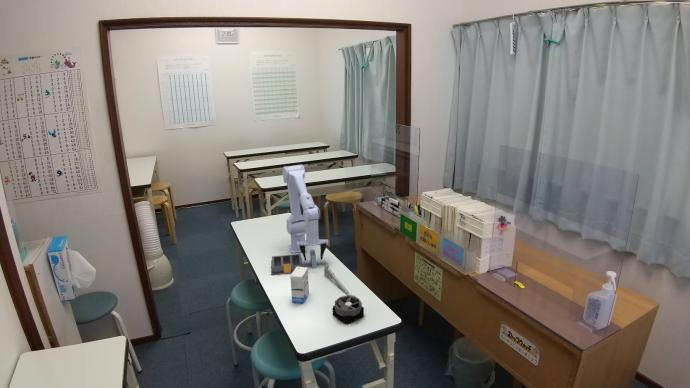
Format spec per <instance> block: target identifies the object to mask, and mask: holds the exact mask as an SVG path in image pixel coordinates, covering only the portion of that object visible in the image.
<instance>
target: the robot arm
mask: <svg viewBox="0 0 690 388" xmlns="http://www.w3.org/2000/svg"><path fill="white" fill-rule="evenodd" d="M281 172H282V178H283V183H285V184H287V193H288V199H289V207H290V216H289V217H288V218H287V219H286V225H285V226H286V231H287V233H288V234H289V235H290V245H289V247H290V248H289V249H290V253H291V254H296V253H297V254H299V253H301V254H302V256H303V259H304V262H307V256H306V255H307V254H306V252H308V251H307V247H316V246H320V247H319V248H320V252H319V253H320V255H319V257H320V260H323V257H324V253H325V251H326V249H327V246H328V245H329V239H322V238H319V237H320V236H319V219H320V218H321V211H320V208H319V207H318V206H317V204H315V202H314V199H313V197H312V194H311V193H309V192H308V189H307V185H306V182H305V177H306V169H305V165H303V164H297V165H291V166H290V165H288V166H285V165H284V166H283V168H282V171H281ZM301 208H302V211H303V212H301Z"/></svg>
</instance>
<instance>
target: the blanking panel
mask: <svg viewBox="0 0 690 388" xmlns="http://www.w3.org/2000/svg"><path fill="white" fill-rule="evenodd" d="M309 252H310V253H309V254H310V264H311V268H312V269H317V254H316V251H315V249H314V248H313V249H311V248H310V250H309Z"/></svg>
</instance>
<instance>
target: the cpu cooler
mask: <svg viewBox="0 0 690 388" xmlns="http://www.w3.org/2000/svg"><path fill="white" fill-rule="evenodd" d="M362 303H363V302H361V300H360V298H359V297H357V296H356V295H352V294H350V295H348V296H347V295H344V296H340V297H338V298H337V299H335V300H334V305H332V309H331V311H332V316H333V317H335V319H337V320H338V321H340V322H342V323H343V324H344V325H350V324H352V323H355V322H356V321H358V320H359V319H362V318H363V317H364V315H365V313H364V312H365V308H364V307H363V306H362Z"/></svg>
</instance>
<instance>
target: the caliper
mask: <svg viewBox="0 0 690 388" xmlns="http://www.w3.org/2000/svg"><path fill="white" fill-rule="evenodd" d="M329 266H330V265H328V263H326V264H325V265H324V267H323V272H324V273H323V275H324V276H325V277H326V278H330V279H331V280H333V281H334V282H335V284H336V285H337V286H338V287H339V289H341V291H342V292H343V294H345V296H348V295H351V294H350V293H349V292H350V291H349V290H348V289H347V288H346V287H345V285H343V283H342V282H341V281H340V280H339V278H337V276H336V275H335V273H334V272H333V271H332V269H331V268H330V267H329Z"/></svg>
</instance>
